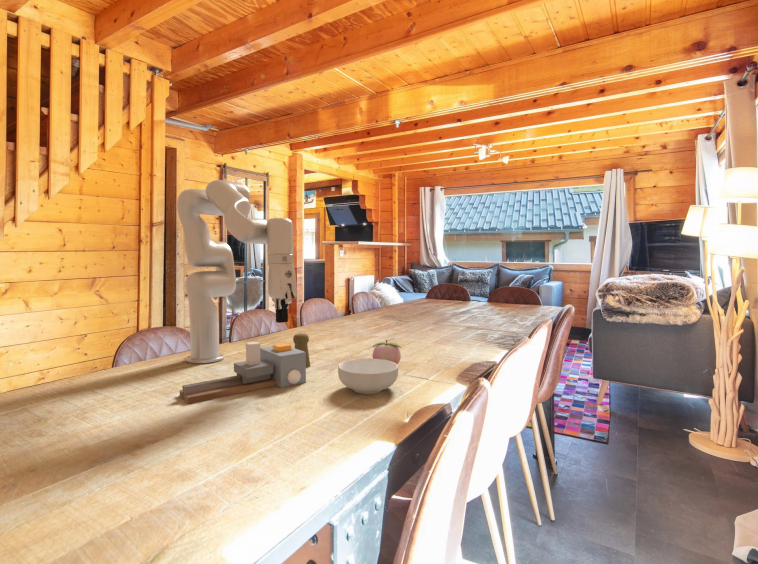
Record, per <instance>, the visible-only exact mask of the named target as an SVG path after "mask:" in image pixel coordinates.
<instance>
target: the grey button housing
mask: <svg viewBox="0 0 758 564" xmlns="http://www.w3.org/2000/svg"><path fill="white" fill-rule="evenodd" d="M260 359H262V360H264V361H266V362H269V363H271V364H273V372H274V373H272V378H273V379H275V380H276V385H275V386H277V387H279V388H281V389H282V388H286V387H290V386H291V387H292V386H295V385H300V384H304V383H307V368H306V352H304V351H301V350H298V349H295V347H292V346H291V351H286V352H279V353H278V352H275V351H273V345H271V346H265V347H264V346H263V347H260Z"/></svg>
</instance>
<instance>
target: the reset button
mask: <svg viewBox="0 0 758 564" xmlns="http://www.w3.org/2000/svg"><path fill="white" fill-rule="evenodd" d="M272 346H273V351H275V352H278V353H279V352H286V351H291V347H292V345H291V344H289V343H285V342H283V343H282V342H281V343H276V344H272Z"/></svg>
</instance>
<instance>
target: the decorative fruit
mask: <svg viewBox="0 0 758 564" xmlns="http://www.w3.org/2000/svg"><path fill="white" fill-rule="evenodd" d="M372 348H374V349H373V350H372V351H373V352H372V359H382V360H388V361H392V362H394V363H396V364H397V365H398V364H399V363H400V361H401V358H402V356H401V350H400V349H401V346H400V344H398V343H396V342H388V340H387V339H385V342H377V343H375V344H374V345H372Z"/></svg>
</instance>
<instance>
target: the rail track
mask: <svg viewBox="0 0 758 564" xmlns="http://www.w3.org/2000/svg"><path fill="white" fill-rule="evenodd" d="M270 375H271V379H266V380H261V381H256V382H251V383H246V384H243V383H242V376H241V375H237V374H236V375H232V376H226V377H223V378H222V377H221V378H217V379H212V380H211V379H210V380H205V381H200V382H194V383H189V384H183V385H182V389H179V397H180V398H182V400H184V401H185V403H187V404H188V405H189V404H193V403H194V404H195V403H200V402H203V401H208V400H213V399H214V400H215V399H217V398H223V397H227V396H233V395H237V394H242V393H245V392H246V393H247V392H251V391H256V390H261V389H266V388H270V387H275V386H277V385H276V380H275V379H273V378H272V374H270Z"/></svg>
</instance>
